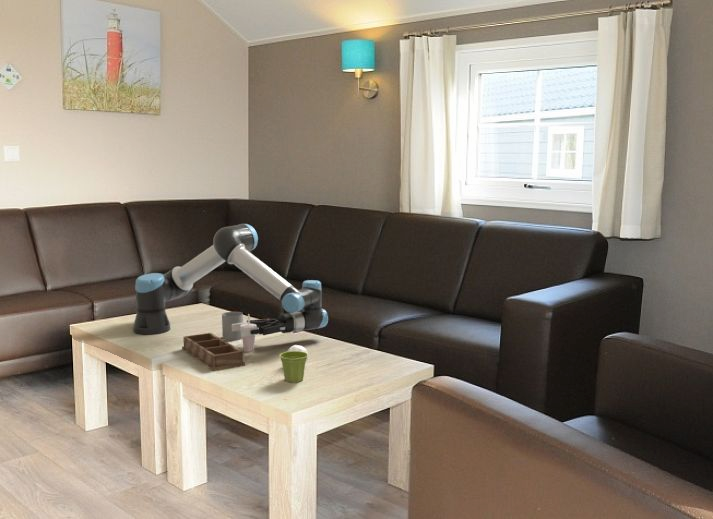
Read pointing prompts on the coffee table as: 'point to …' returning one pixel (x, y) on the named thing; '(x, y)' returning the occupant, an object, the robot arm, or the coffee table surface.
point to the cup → (227, 323)
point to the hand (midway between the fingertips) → (236, 330)
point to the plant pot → (293, 365)
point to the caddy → (213, 351)
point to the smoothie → (248, 337)
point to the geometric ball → (298, 349)
